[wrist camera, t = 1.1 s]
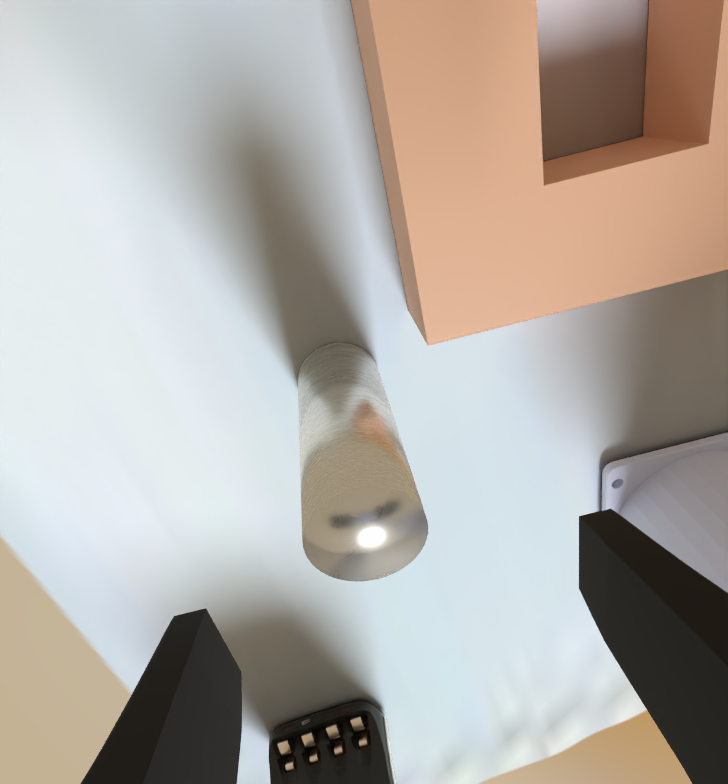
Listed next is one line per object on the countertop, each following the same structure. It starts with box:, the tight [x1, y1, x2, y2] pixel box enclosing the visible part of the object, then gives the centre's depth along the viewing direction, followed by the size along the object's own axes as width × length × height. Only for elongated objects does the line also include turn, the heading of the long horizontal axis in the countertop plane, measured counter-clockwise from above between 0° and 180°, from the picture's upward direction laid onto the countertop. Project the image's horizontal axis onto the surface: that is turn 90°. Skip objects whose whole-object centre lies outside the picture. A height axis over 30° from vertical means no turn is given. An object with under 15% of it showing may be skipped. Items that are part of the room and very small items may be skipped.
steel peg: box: [298, 343, 428, 581], centre depth 16 cm, size 3×3×8 cm
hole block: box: [351, 0, 728, 345], centre depth 14 cm, size 12×12×3 cm
